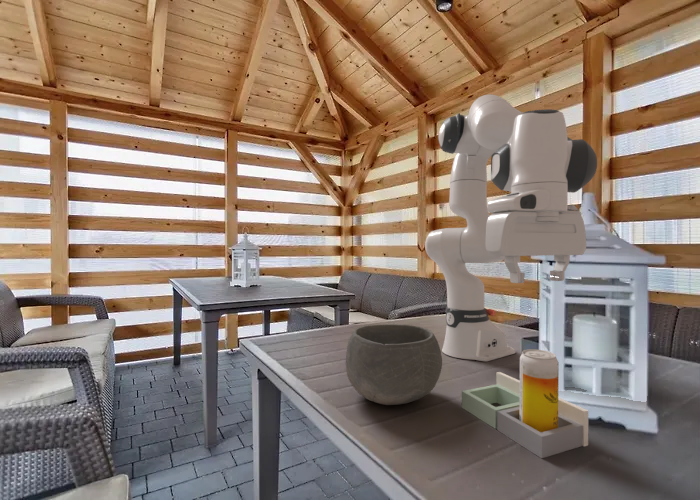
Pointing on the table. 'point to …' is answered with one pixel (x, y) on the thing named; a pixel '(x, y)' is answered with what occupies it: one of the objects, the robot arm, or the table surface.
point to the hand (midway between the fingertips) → (537, 281)
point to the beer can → (539, 389)
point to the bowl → (393, 362)
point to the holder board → (507, 422)
